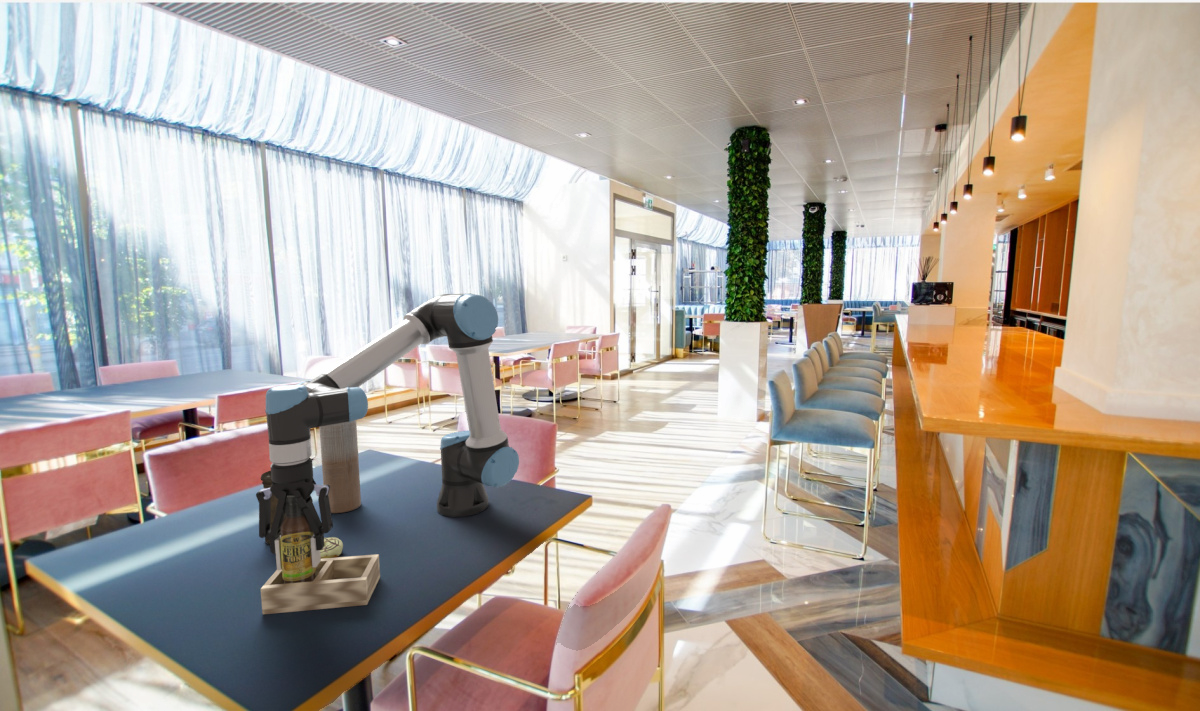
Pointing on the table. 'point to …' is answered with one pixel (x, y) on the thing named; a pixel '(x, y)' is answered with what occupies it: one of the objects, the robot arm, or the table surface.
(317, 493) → the robot arm
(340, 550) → the decorated donut
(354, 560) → the caddy
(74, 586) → the table surface
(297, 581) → the sauce bottle
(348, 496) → the vase
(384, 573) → the table surface
